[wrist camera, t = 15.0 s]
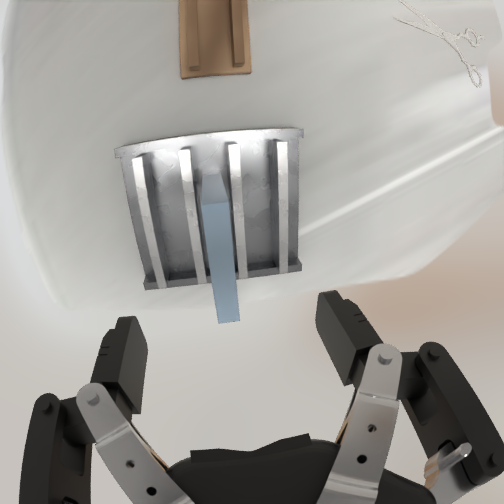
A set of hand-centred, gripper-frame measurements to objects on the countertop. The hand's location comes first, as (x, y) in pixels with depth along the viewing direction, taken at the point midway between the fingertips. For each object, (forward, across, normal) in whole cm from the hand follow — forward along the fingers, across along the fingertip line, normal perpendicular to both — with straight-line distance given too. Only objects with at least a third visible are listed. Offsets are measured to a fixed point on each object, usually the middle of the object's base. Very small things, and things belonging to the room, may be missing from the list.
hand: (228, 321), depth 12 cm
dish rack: (+16, 0, 0) cm, 16 cm away
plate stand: (+17, -1, -18) cm, 24 cm away
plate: (+15, 0, +1) cm, 15 cm away
